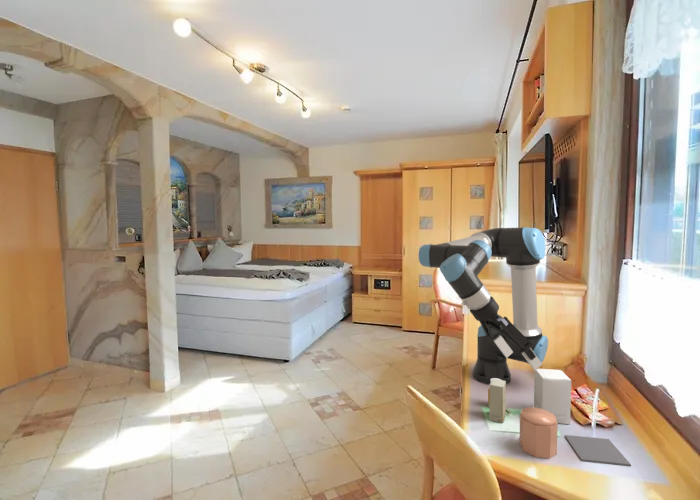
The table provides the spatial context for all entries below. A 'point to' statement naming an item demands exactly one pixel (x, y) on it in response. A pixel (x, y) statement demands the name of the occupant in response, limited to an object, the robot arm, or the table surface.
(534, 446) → the peach round canister
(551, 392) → the supplement box
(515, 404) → the table surface
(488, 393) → the supplement bottle
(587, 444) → the rubber mat
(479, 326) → the robot arm
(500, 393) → the skincare box
